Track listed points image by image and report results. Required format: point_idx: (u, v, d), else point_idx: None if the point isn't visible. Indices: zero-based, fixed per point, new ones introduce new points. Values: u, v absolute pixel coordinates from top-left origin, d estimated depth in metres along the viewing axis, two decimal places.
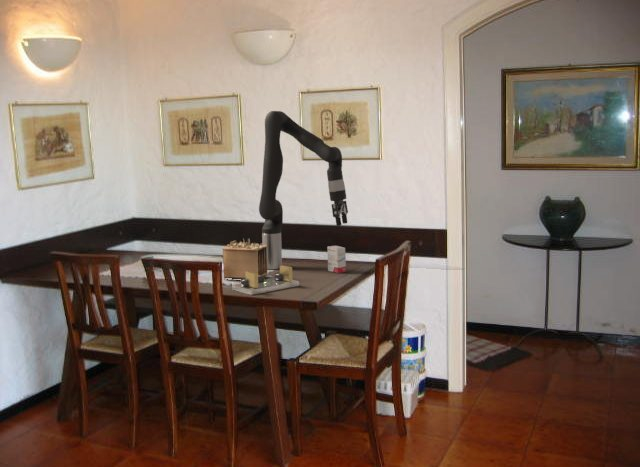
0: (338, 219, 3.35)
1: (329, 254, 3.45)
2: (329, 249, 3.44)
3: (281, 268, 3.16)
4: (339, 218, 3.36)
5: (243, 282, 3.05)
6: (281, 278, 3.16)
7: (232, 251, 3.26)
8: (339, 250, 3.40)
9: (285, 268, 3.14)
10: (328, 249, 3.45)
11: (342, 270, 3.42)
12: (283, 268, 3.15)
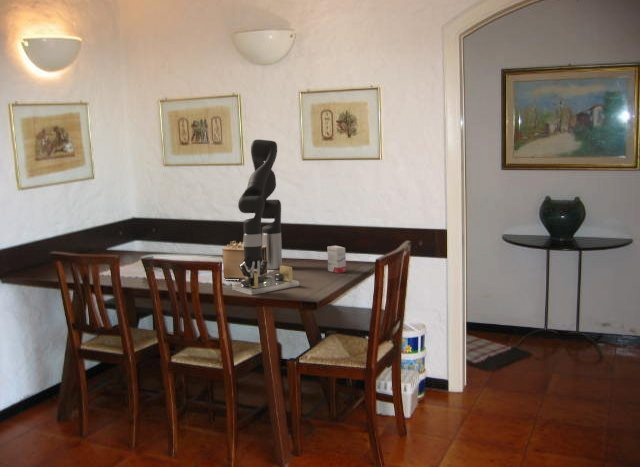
0: (249, 279, 3.01)
1: (329, 254, 3.45)
2: (329, 249, 3.44)
3: (281, 268, 3.16)
4: (251, 278, 3.01)
5: (243, 282, 3.05)
6: (281, 278, 3.16)
7: (232, 251, 3.25)
8: (339, 250, 3.40)
9: (285, 268, 3.14)
10: (328, 249, 3.45)
11: (342, 270, 3.42)
12: (283, 268, 3.15)
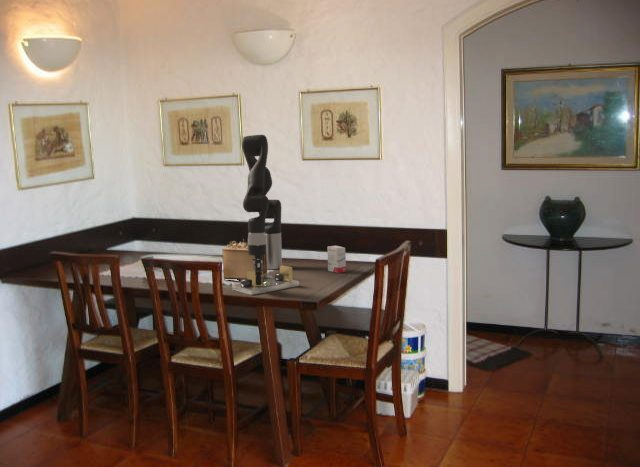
0: (259, 278, 3.04)
1: (329, 254, 3.45)
2: (329, 249, 3.44)
3: (281, 268, 3.16)
4: (260, 277, 3.04)
5: (247, 282, 3.05)
6: (281, 278, 3.16)
7: (232, 251, 3.25)
8: (339, 250, 3.40)
9: (285, 268, 3.14)
10: (328, 249, 3.45)
11: (342, 270, 3.42)
12: (283, 268, 3.15)
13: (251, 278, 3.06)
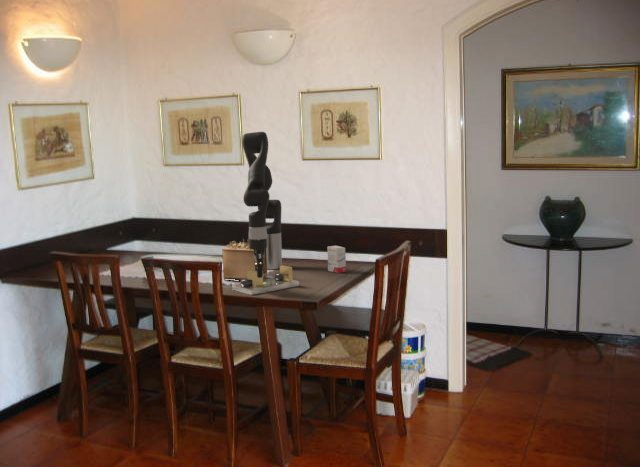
0: (261, 270, 3.02)
1: (329, 254, 3.45)
2: (329, 249, 3.44)
3: (281, 268, 3.16)
4: (261, 269, 3.03)
5: (248, 282, 3.05)
6: (281, 278, 3.16)
7: (232, 251, 3.25)
8: (339, 250, 3.40)
9: (285, 268, 3.14)
10: (328, 249, 3.45)
11: (342, 270, 3.42)
12: (283, 268, 3.15)
13: (252, 278, 3.06)
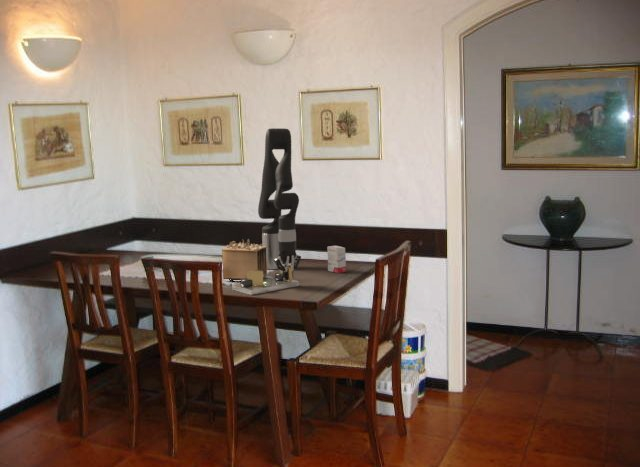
0: (284, 273, 3.13)
1: (329, 254, 3.45)
2: (329, 249, 3.44)
3: None
4: (286, 272, 3.13)
5: (248, 282, 3.05)
6: (281, 278, 3.16)
7: (232, 251, 3.24)
8: (339, 250, 3.40)
9: None
10: (328, 249, 3.45)
11: (342, 270, 3.42)
12: None
13: (252, 278, 3.06)
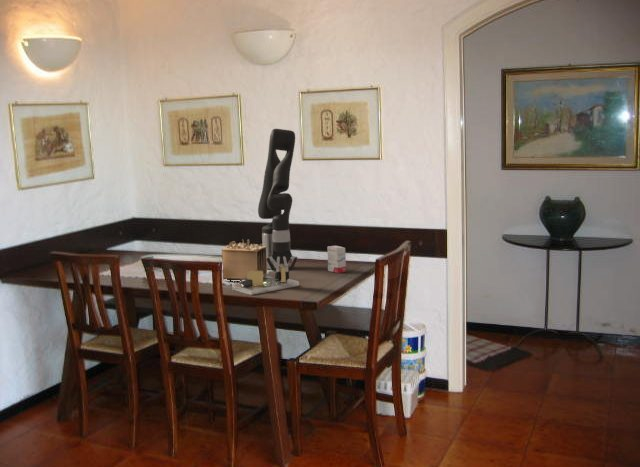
0: (276, 273, 3.13)
1: (329, 254, 3.45)
2: (329, 249, 3.44)
3: None
4: (277, 273, 3.13)
5: (248, 282, 3.05)
6: None
7: (231, 252, 3.24)
8: (339, 250, 3.40)
9: (280, 268, 3.14)
10: (328, 249, 3.45)
11: (342, 270, 3.42)
12: None
13: (252, 278, 3.06)
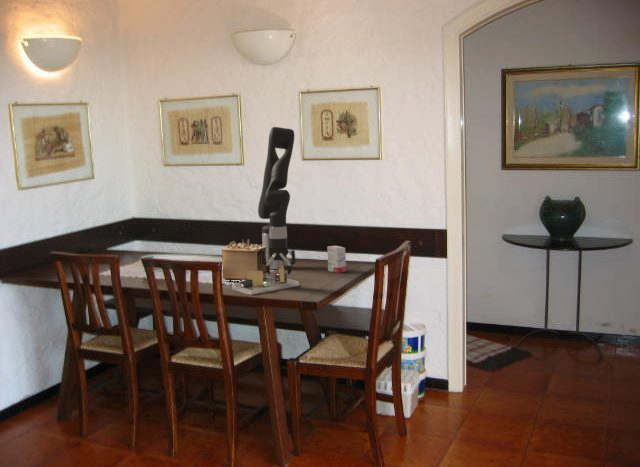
0: (266, 267, 3.13)
1: (329, 254, 3.45)
2: (329, 249, 3.44)
3: None
4: (267, 266, 3.13)
5: (248, 282, 3.05)
6: (278, 278, 3.16)
7: (231, 252, 3.24)
8: (339, 250, 3.40)
9: (279, 268, 3.14)
10: (328, 249, 3.45)
11: (342, 270, 3.42)
12: (279, 268, 3.15)
13: (252, 278, 3.06)
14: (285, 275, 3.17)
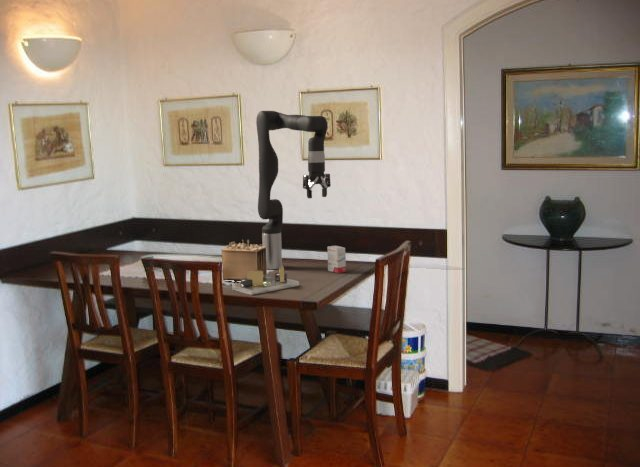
0: (308, 191, 3.25)
1: (329, 254, 3.45)
2: (329, 249, 3.44)
3: None
4: (310, 191, 3.25)
5: (248, 282, 3.05)
6: (278, 278, 3.16)
7: (231, 252, 3.23)
8: (339, 250, 3.40)
9: (279, 268, 3.14)
10: (328, 249, 3.45)
11: (342, 270, 3.42)
12: None
13: (252, 278, 3.06)
14: (285, 275, 3.17)
